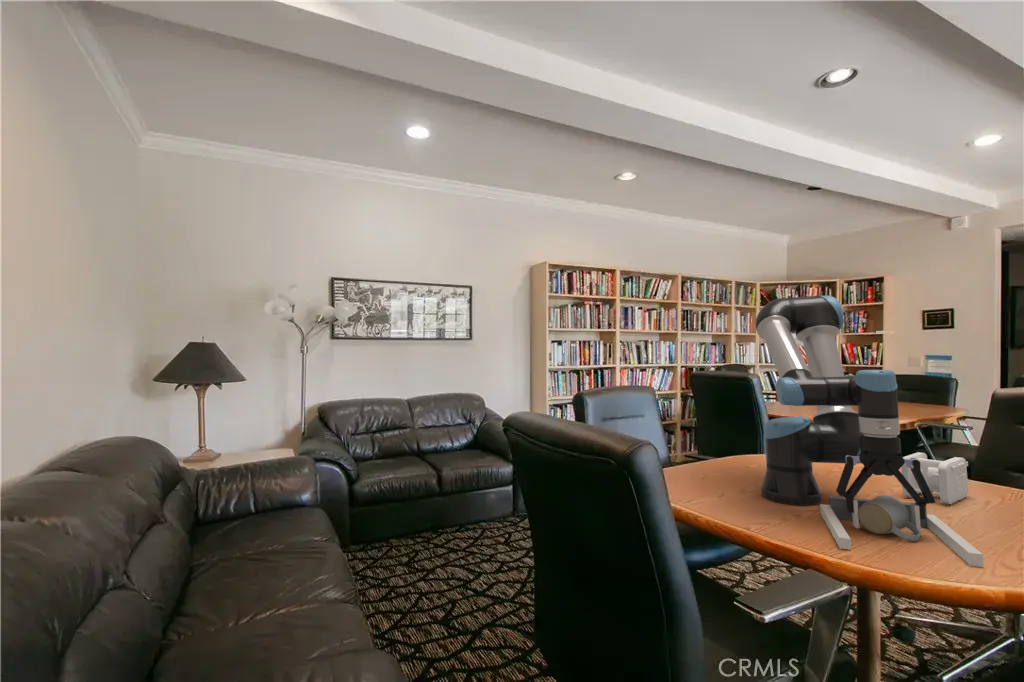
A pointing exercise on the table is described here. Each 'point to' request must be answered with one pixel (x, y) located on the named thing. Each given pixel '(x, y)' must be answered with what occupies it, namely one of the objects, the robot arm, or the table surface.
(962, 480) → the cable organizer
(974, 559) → the guide track
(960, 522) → the table surface
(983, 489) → the table surface
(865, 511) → the ceramic mug
